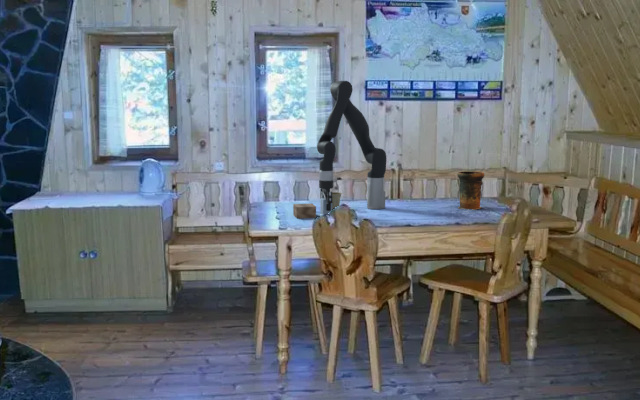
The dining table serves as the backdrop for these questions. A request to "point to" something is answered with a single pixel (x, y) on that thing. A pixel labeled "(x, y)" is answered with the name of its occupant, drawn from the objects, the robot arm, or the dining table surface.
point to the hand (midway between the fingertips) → (326, 209)
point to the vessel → (470, 189)
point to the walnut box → (304, 210)
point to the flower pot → (335, 199)
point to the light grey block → (323, 206)
